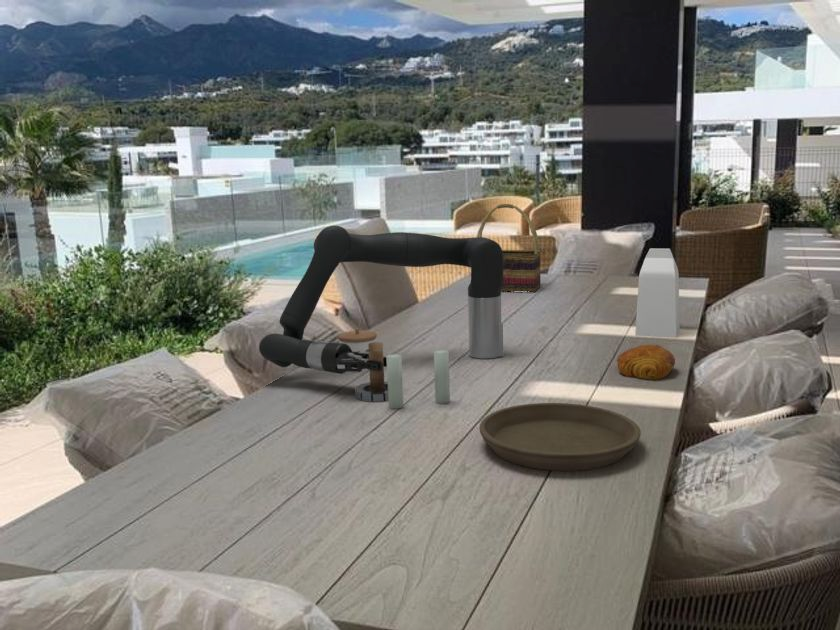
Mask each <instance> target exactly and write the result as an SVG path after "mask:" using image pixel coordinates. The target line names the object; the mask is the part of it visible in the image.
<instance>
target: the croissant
mask: <svg viewBox="0 0 840 630" xmlns="http://www.w3.org/2000/svg"><path fill="white" fill-rule="evenodd" d="M616 362H617V369H618V372H620V373H621V374H622V375H624V376H625V377H629V378H635V377H636V378H637V379H643V380H644V379H645V380H661V379H663V378H665V377H667V376H668V375H669V373H670V372H671V371H672V369H673V367H674V366H675V364H676V358H675V355H674V354H673V353H672V352H671V351H670V350H668V349H666V348H664V347H663V346H661V345H657V344H656V345H655V344H654V345H653V344H643V345H638V346H635V347H631V348H629V349H627V350H624V352H622V353H620V354H619V355H618V356H617V359H616Z"/></svg>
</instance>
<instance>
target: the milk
mask: <svg viewBox="0 0 840 630" xmlns="http://www.w3.org/2000/svg"><path fill="white" fill-rule="evenodd" d="M679 279H680V277H679V268H678V266H677V263H676V260H675V258H674V255H673V252H672V250H671V248H649V250H648V252H647V254H646V255H645V258H644V260H643V263H642V266H641V268H640V270H639V275H638V284H637V285H638V288H637V303H636V319H635V332H634V333H635V335H634V336H636V337H651V338H668V339H669V338H671V339H674V338H677V337H678V335H679V333H680V330H681V324H680V323H681V322H680V321H681V320H680V287H679V285H680V282H679V281H680V280H679Z"/></svg>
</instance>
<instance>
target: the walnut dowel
mask: <svg viewBox="0 0 840 630" xmlns="http://www.w3.org/2000/svg"><path fill="white" fill-rule="evenodd" d="M368 345H369V360H374V361H381V362H382V363H383V357H384V347H383V346H384V344H383V342H379V341H376V342H373V343H369V344H368ZM384 381H385V369H384V363H383V370H381V371H376V370H369V382H370V390H371V392H383V391H385V388H384Z"/></svg>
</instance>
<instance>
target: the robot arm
mask: <svg viewBox="0 0 840 630" xmlns="http://www.w3.org/2000/svg"><path fill="white" fill-rule="evenodd" d="M313 249H314V251H313V256H312V257H311V261H310V263H309V265H308V267H307V270H306V271H305V273H304V275H303V276H302V278H301V280H300V281H299V282H298V285H296V288H295V289H294V291H293V292H292V295H291V296H290V298H289V300H288V302H287V303H286V305H285V308H284V309H283V311H282V313H281V316H279V324H280V326H281V327H282V328H283V334H281V333H269V334H267V335H265V336H264V337H263V338H262V339H261V340H260V342H259V344H258V349H259V350H258V351H259V353H260V354H261V356H262V358H264V359H265V360H266V361H267V360H268V361H269V362H271V363H272V364H274V365H276V366H278V367H281V368H287V367H290V366H291V365H292V364H293V365H294V366H297V367H299V368H305V369H311V370H312V369H313V370H314V371H318V372H325V373H331V374H333V373H334V374H339V375H343V374H345V373H350V372H352V373H353V372H354V373H362V372H363V371H370V370H376V371H381V370H383V363H384V367H385V368H387V357H386V356H383V363H382V362H381V361H374V360H369V349H368V350H366V352H360V351H352V350H351V349H350V347H349V346H348V345H347V344H343V343H339V342H334V341H333V342H332V341H327V340H326V341H325V340H319V341H317V340H311V339H310V340H309V339H303V338H304V333H305V330H306V327H307V325H308V324H309V321H310V320H311V318H312V315H313V313H314V311H315V309H316V307H317V305H318V303H319V301H320V298H321V296H322V294H323V292H324V290H325V287H327V286H326V285H327V283H328V282H329V280H330V278H331V277H332V275H333V274H334V271H335V270H336V268H337V267H338V266H339V265H340V263H352V262H353V263H354V262H355V263H356V262H357V263H358V262H359V263H361V262H363V263H365V262H366V263H372V264H379V265H387V266H397V267H408V268H409V267H410V268H422V267H423V268H424V267H434V266H441V265H452V266H461V267H467V268H470V283H469V285H468V286H467V302H468V303H467V306H468V307H467V309H468V350H469V351H468V352H469V353H468V354H469V355H468V356H469V357H472V358H474V359H475V358H476V359H482V360H483V359H495V358H499V357H500V358H501V357H504V324H503V322H502V292H501V288H502V285H503V252H502V250H503V248H502V247H501V244H499V242H497V241H496V240H493V239H490V238H488V237H483V236H482V237H477V236H476V237H460V238H459V237H457V238H453V237H442V236H437V235H432V234H426V233H425V234H424V233H417V232H415V233H414V232H400V231H399V232H396V231H395V232H387V233H386V232H385V233H377V234H365V235H364V234H357V233H356V234H355V233H349V231H348V230H346V229H345V228H344V227H342V226H339V225H329V226H326V227H324V228H323V229H321V231H320V232H319V233H318V234H317V236H316V238H314V242H313Z"/></svg>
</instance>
